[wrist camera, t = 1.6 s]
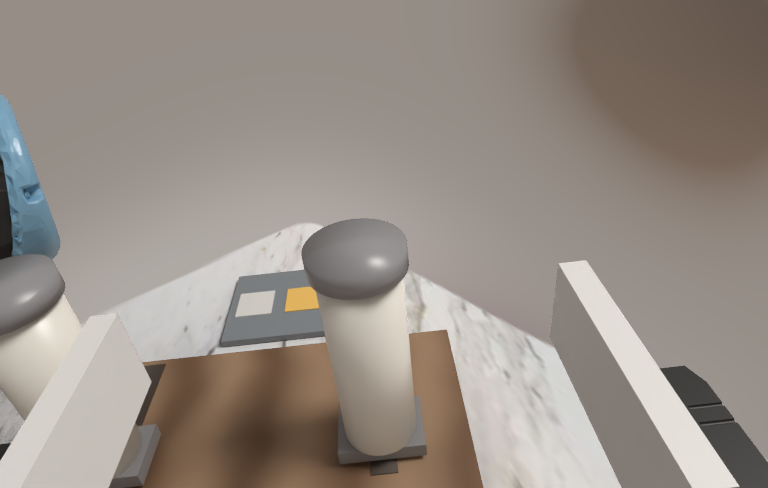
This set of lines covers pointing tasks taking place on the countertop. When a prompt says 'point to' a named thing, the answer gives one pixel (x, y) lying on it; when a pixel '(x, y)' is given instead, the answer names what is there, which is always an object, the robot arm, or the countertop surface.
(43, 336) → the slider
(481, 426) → the countertop surface
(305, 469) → the brown wooden board
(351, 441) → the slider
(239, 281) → the card
